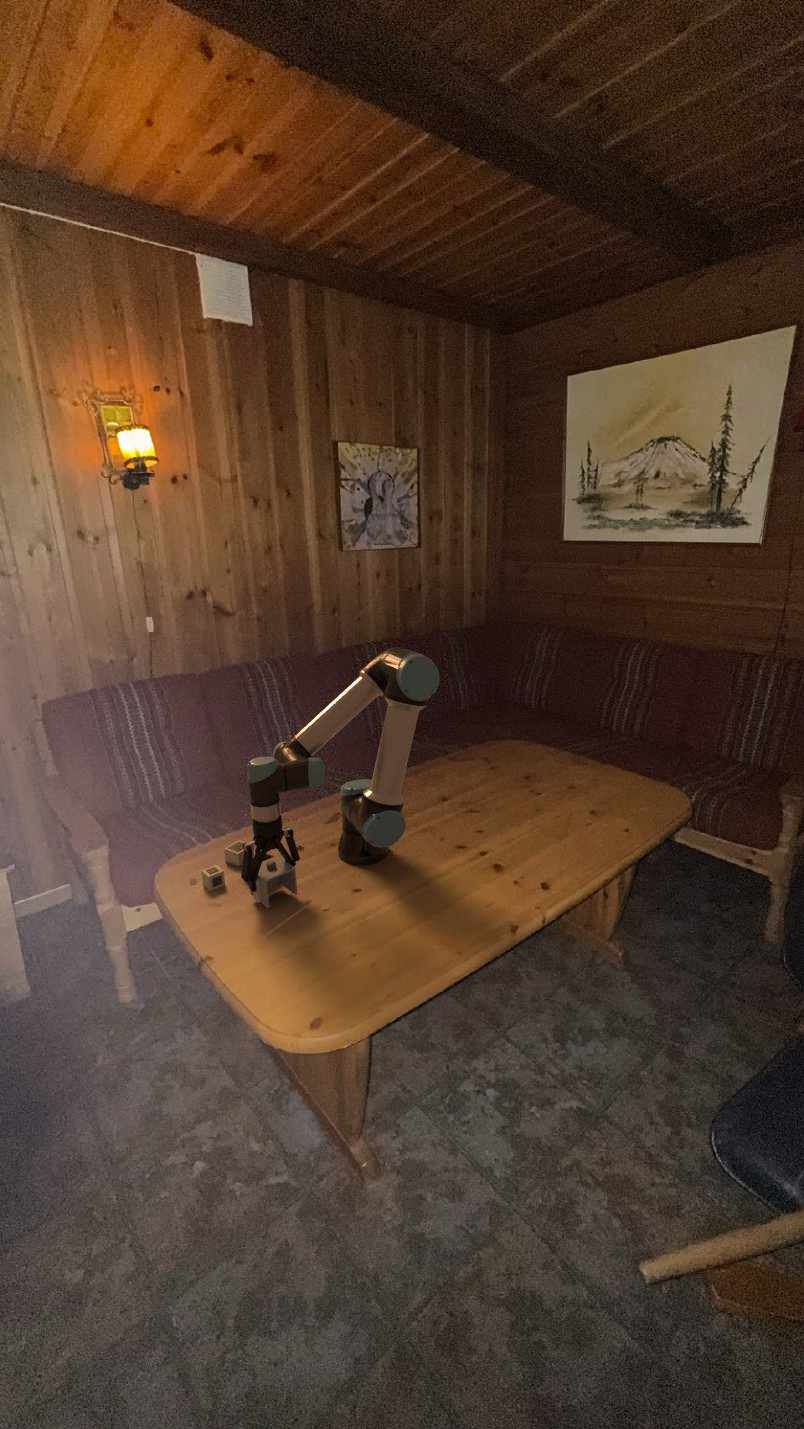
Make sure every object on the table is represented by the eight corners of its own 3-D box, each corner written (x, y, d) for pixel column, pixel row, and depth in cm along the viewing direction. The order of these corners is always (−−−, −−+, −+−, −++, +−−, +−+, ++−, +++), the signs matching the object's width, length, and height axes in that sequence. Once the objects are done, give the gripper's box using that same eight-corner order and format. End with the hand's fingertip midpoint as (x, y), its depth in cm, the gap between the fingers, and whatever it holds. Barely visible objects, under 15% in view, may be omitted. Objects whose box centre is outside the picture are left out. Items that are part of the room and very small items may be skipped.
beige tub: (254, 858, 188) (253, 845, 187) (239, 867, 184) (237, 853, 182) (240, 853, 192) (239, 840, 190) (225, 862, 187) (223, 848, 186)
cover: (297, 894, 166) (294, 863, 163) (267, 908, 160) (264, 876, 158) (279, 881, 173) (277, 851, 170) (250, 894, 167) (247, 863, 164)
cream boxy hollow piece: (225, 885, 175) (223, 870, 173) (210, 891, 172) (208, 876, 170) (218, 878, 178) (216, 864, 177) (203, 884, 175) (201, 870, 174)
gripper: (294, 799, 170) (300, 873, 176) (220, 825, 156) (229, 903, 162) (310, 808, 164) (315, 883, 171) (234, 835, 150) (243, 916, 157)
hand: (273, 893), depth 166 cm, fingers closed on cover, 9 cm apart
